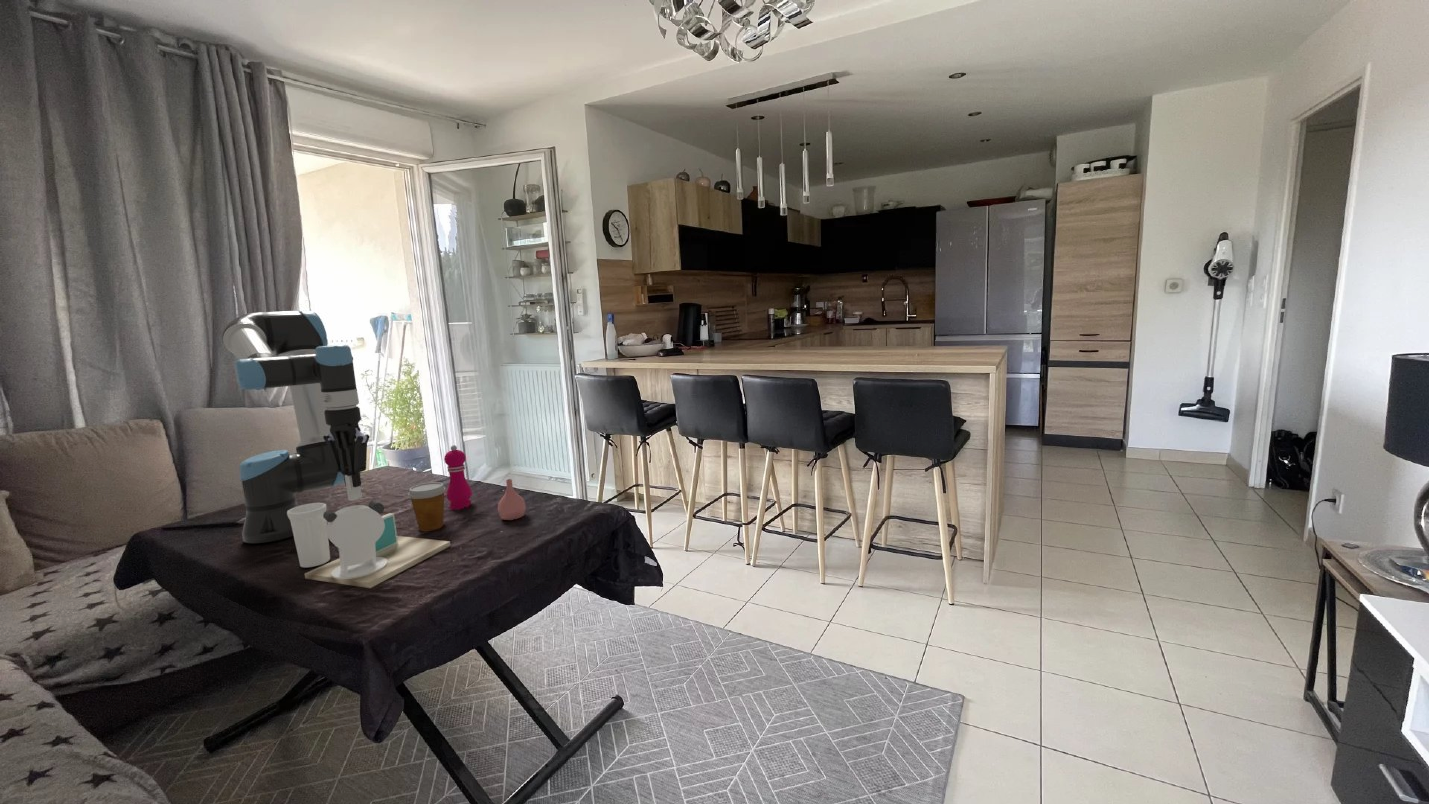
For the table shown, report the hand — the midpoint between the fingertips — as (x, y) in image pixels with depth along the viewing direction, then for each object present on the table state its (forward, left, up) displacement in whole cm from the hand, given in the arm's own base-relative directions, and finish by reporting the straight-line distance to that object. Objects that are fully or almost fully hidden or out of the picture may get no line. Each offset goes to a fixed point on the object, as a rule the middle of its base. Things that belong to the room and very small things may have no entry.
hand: (355, 498), depth 150 cm
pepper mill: (+1, +34, -14) cm, 37 cm away
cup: (-5, -9, -14) cm, 18 cm away
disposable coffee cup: (+5, +18, -14) cm, 24 cm away
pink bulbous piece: (+25, +28, -14) cm, 40 cm away
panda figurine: (+12, -10, -13) cm, 20 cm away
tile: (+7, 0, -13) cm, 14 cm away
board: (+11, -4, -14) cm, 18 cm away
